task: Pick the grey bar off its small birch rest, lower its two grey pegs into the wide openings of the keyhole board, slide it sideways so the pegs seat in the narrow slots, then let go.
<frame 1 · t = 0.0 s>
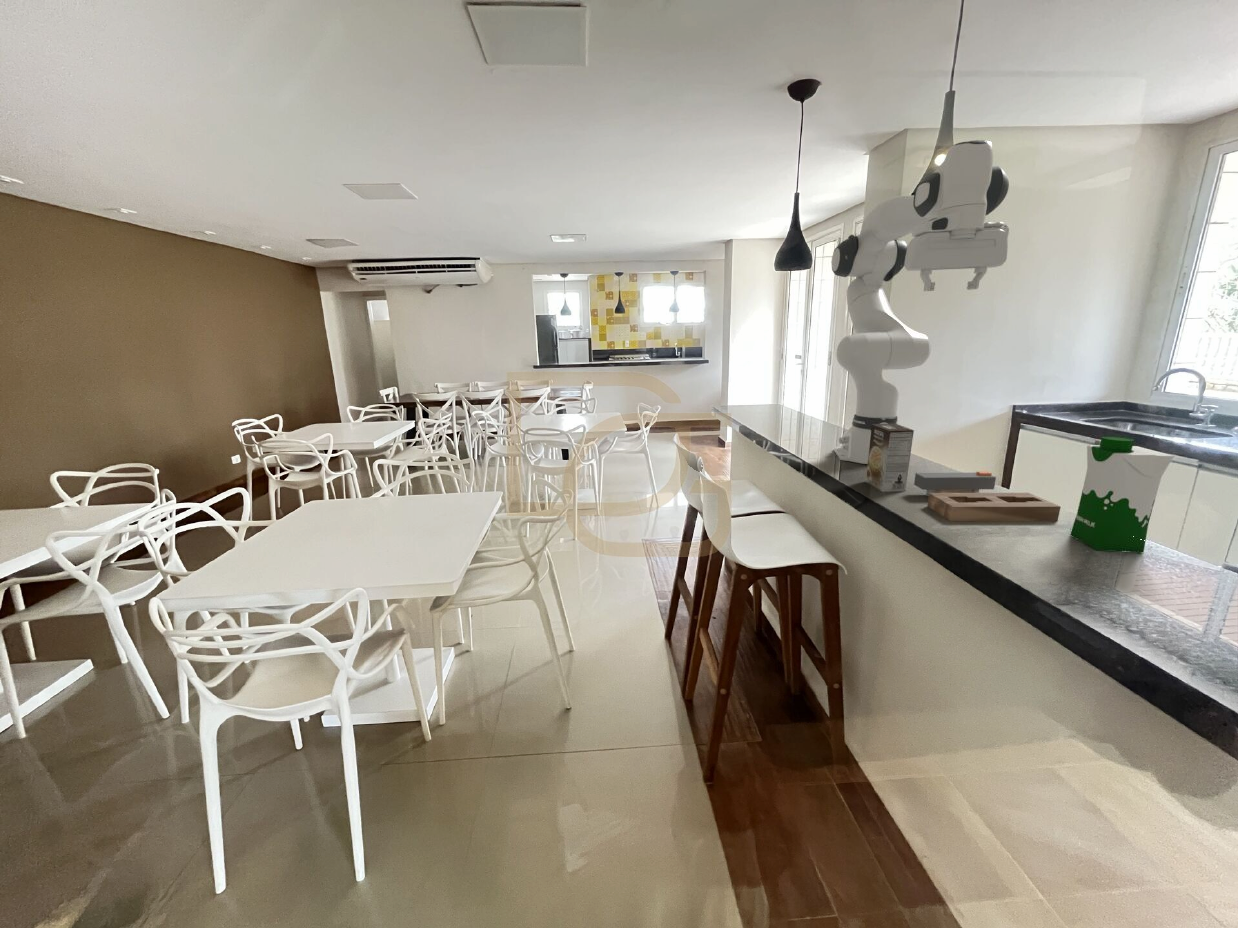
hand: (950, 290, 109), 48 cm above the table, tool pointing down, fingers open, 8 cm apart
grey bar: (951, 495, 115), resting on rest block
keyhole board: (988, 514, 104), on the table
coffee box: (884, 487, 124), on the table
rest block: (951, 496, 115), on the table
milk carton: (1105, 544, 88), on the table
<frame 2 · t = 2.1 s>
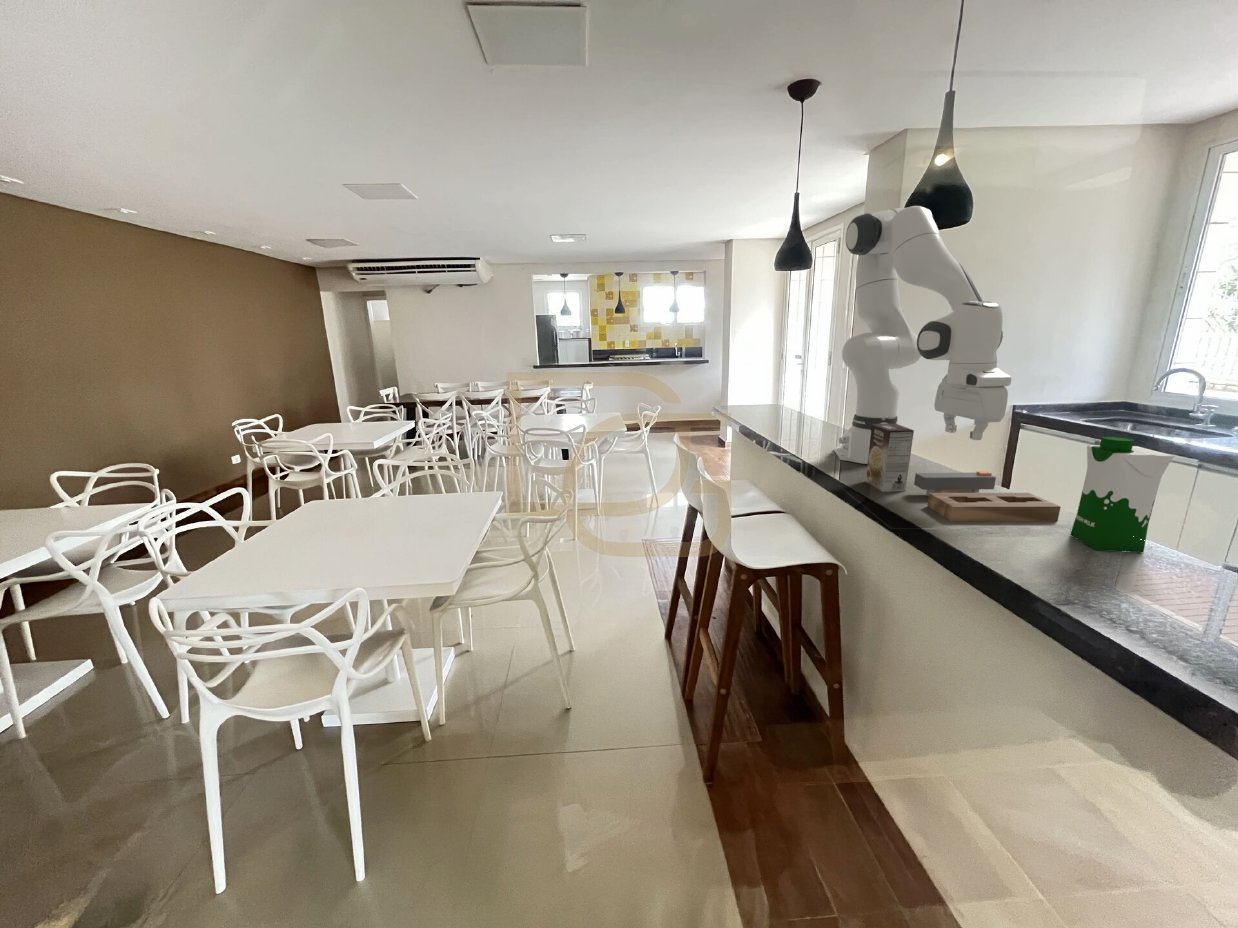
hand: (962, 435, 111), 15 cm above the table, tool pointing down, fingers open, 8 cm apart
nothing on the table moved.
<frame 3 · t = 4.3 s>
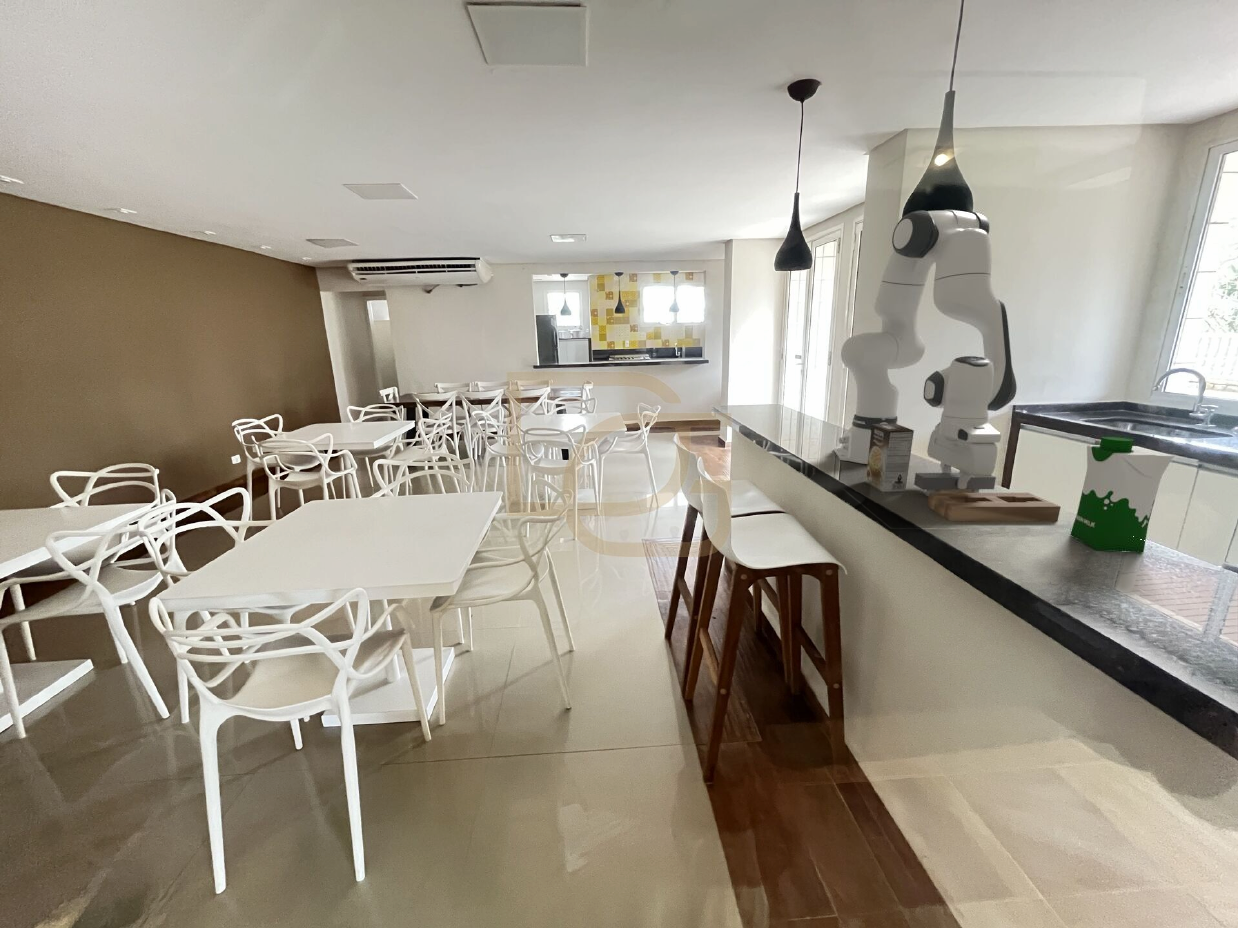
hand: (953, 484, 115), 3 cm above the table, tool pointing down, fingers closed on grey bar, 4 cm apart
grey bar: (951, 495, 115), resting on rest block, touching gripper
everything else where it was.
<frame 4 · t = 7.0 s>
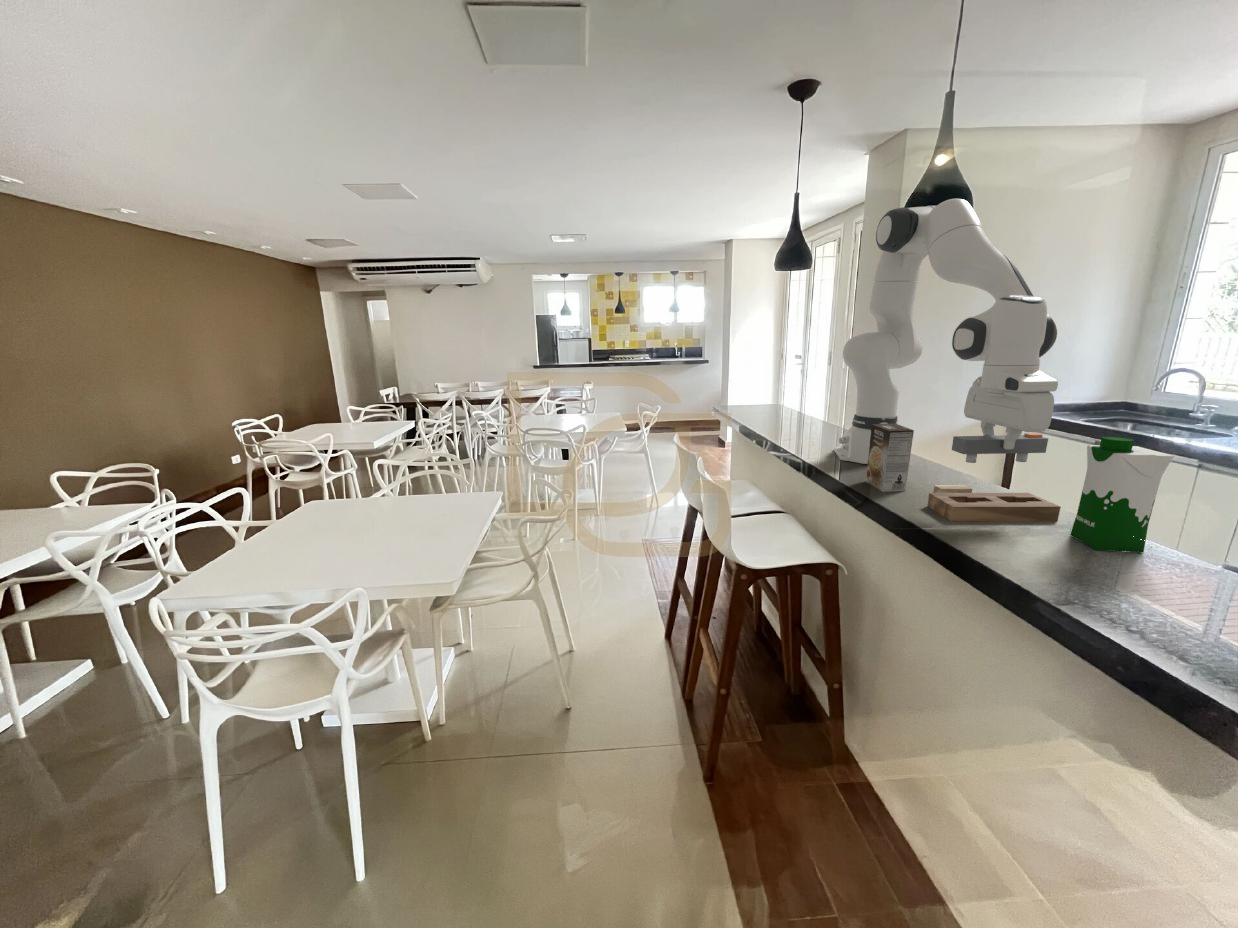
hand: (997, 445, 100), 15 cm above the table, tool pointing down, fingers closed on grey bar, 4 cm apart
grey bar: (995, 461, 101), point 12 cm above the table, touching gripper
everything else where it was.
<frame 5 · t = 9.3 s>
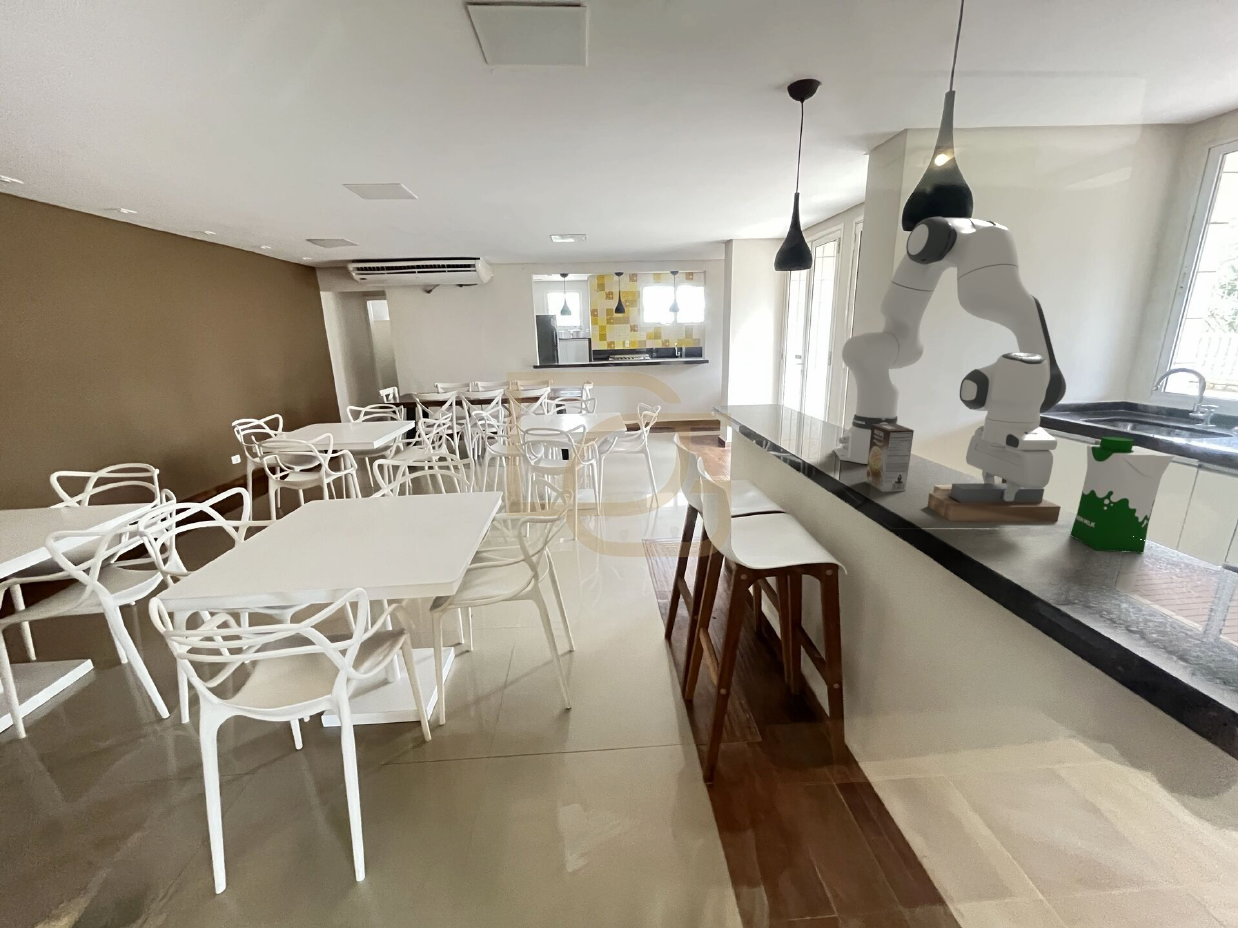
hand: (997, 495, 103), 4 cm above the table, tool pointing down, fingers closed on grey bar, 4 cm apart
grey bar: (992, 508, 103), point 1 cm above the table, touching gripper, keyhole board
everything else where it was.
when the fingers open (4 cm above the table, at t = 10.7 s): grey bar stays where it is, resting on keyhole board.
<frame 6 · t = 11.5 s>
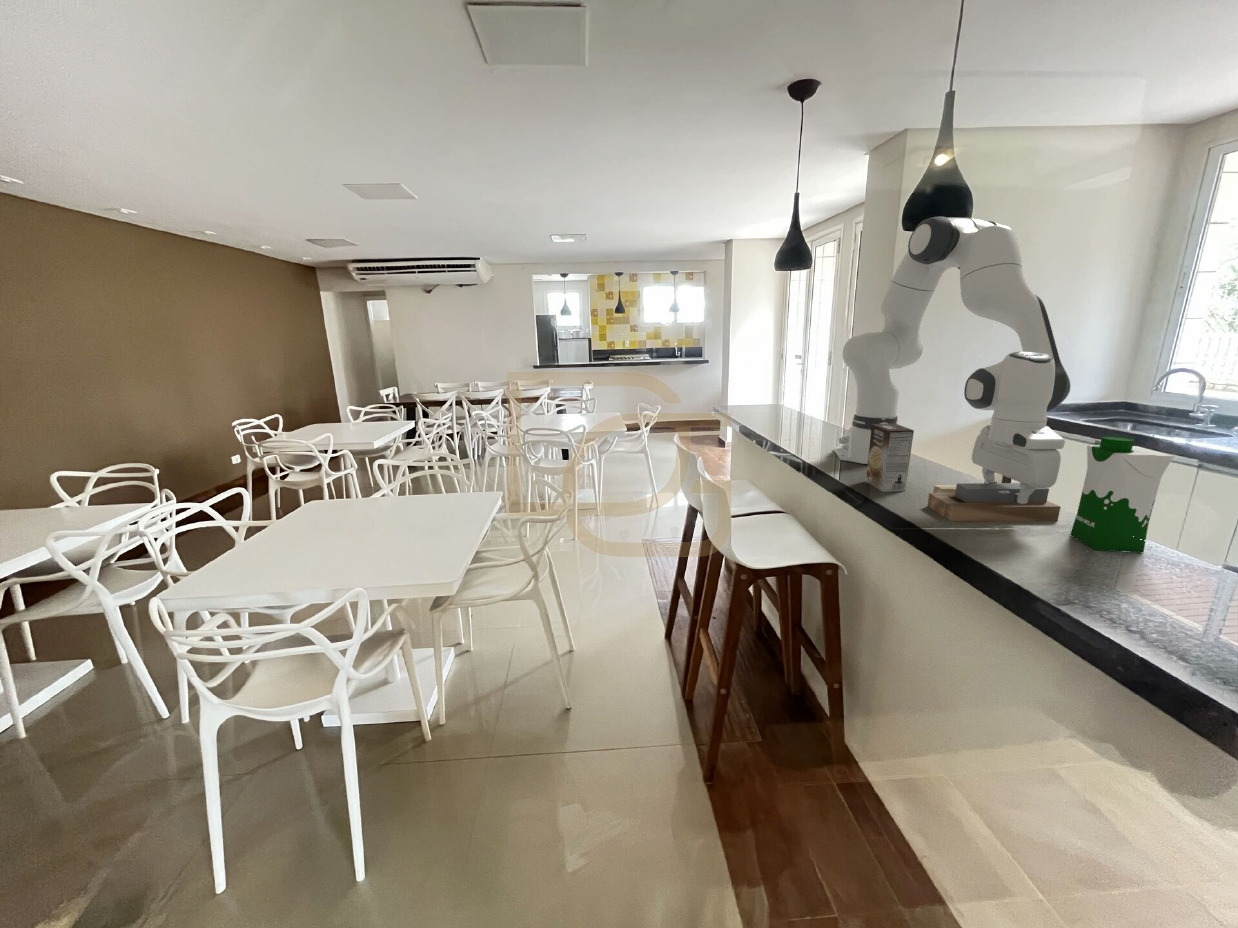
hand: (1004, 495, 103), 4 cm above the table, tool pointing down, fingers open, 8 cm apart
grey bar: (997, 508, 103), point 1 cm above the table, touching keyhole board
everything else where it was.
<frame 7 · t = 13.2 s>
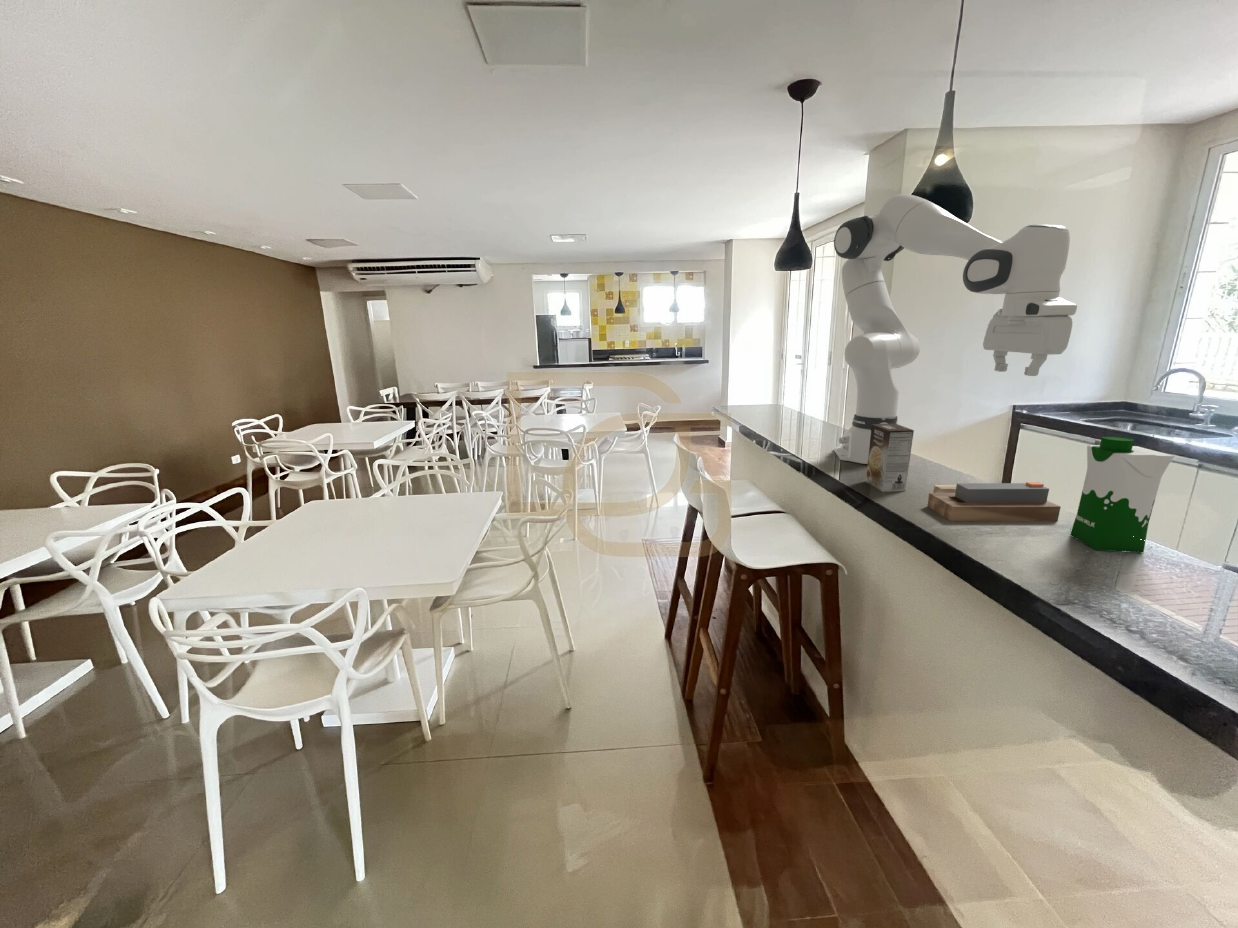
hand: (1014, 373, 105), 30 cm above the table, tool pointing down, fingers open, 8 cm apart
nothing on the table moved.
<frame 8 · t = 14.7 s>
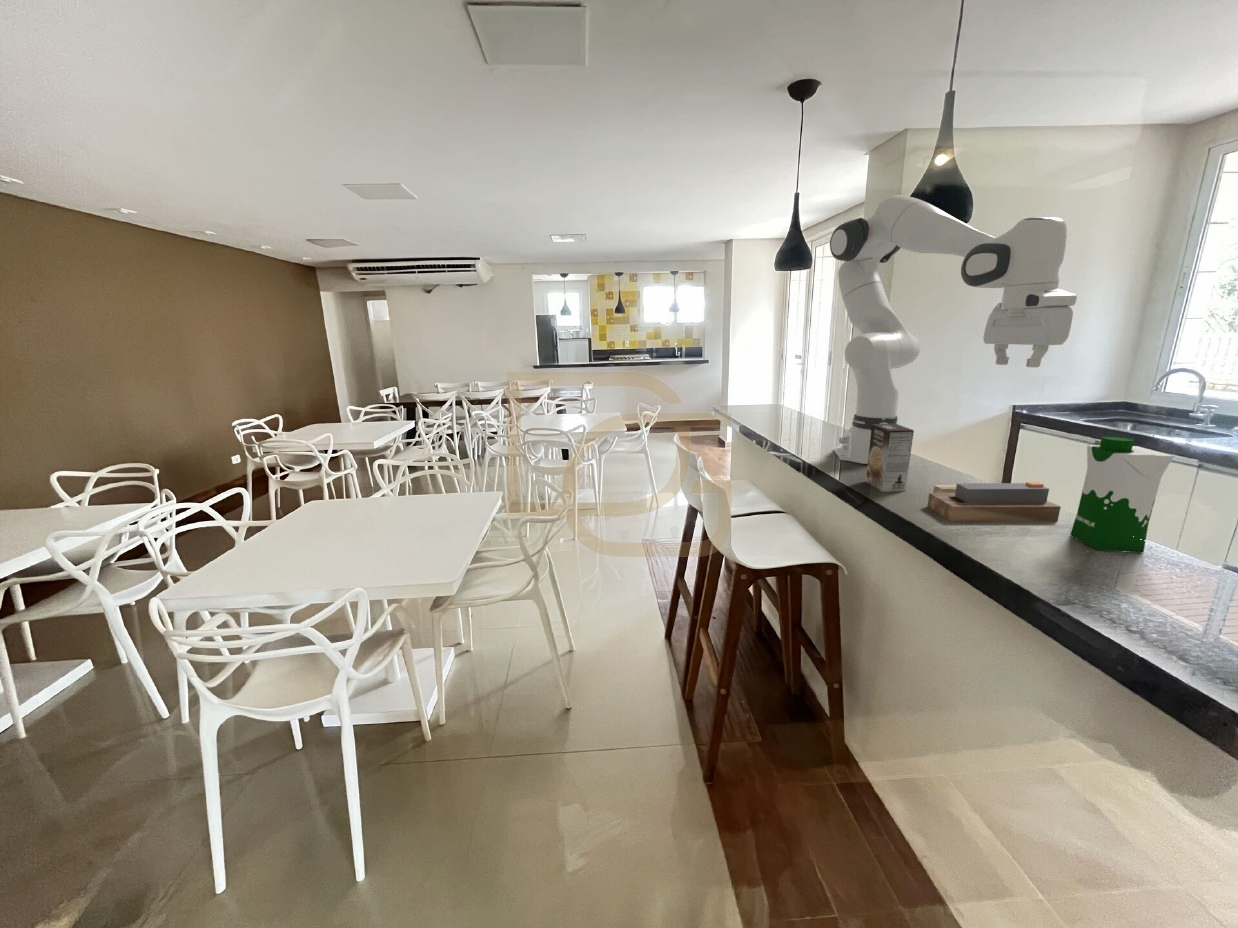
hand: (1016, 366, 105), 31 cm above the table, tool pointing down, fingers open, 8 cm apart
nothing on the table moved.
at the end: grey bar 1.2 cm from the target spot on the keyhole board, point 1.3 cm above the keyhole board's base; grey bar tilted 0°; the gripper is holding nothing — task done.
